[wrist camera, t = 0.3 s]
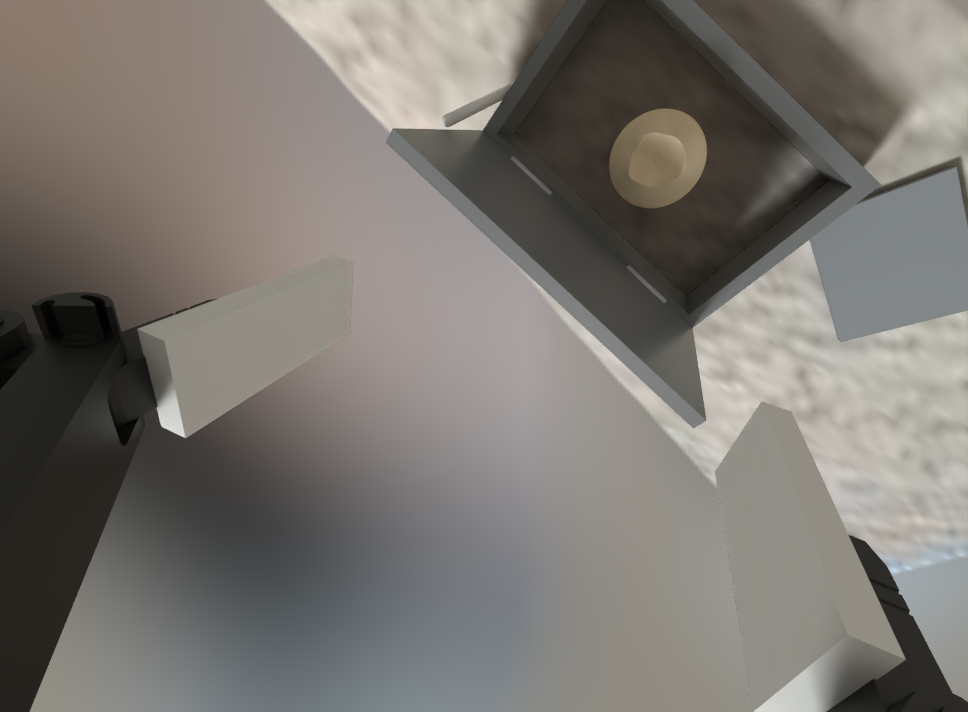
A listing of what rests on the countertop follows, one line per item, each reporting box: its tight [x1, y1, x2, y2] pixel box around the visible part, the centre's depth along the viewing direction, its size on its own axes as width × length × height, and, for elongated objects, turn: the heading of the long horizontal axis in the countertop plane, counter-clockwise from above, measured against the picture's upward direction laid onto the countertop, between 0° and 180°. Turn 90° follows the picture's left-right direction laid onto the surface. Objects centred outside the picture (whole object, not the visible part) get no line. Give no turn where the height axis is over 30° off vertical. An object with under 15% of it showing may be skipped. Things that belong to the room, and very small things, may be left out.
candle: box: [609, 109, 707, 208], centre depth 29 cm, size 6×6×10 cm
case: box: [386, 0, 881, 428], centre depth 26 cm, size 23×14×18 cm, turn 52°
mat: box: [810, 166, 968, 342], centre depth 31 cm, size 10×8×1 cm
